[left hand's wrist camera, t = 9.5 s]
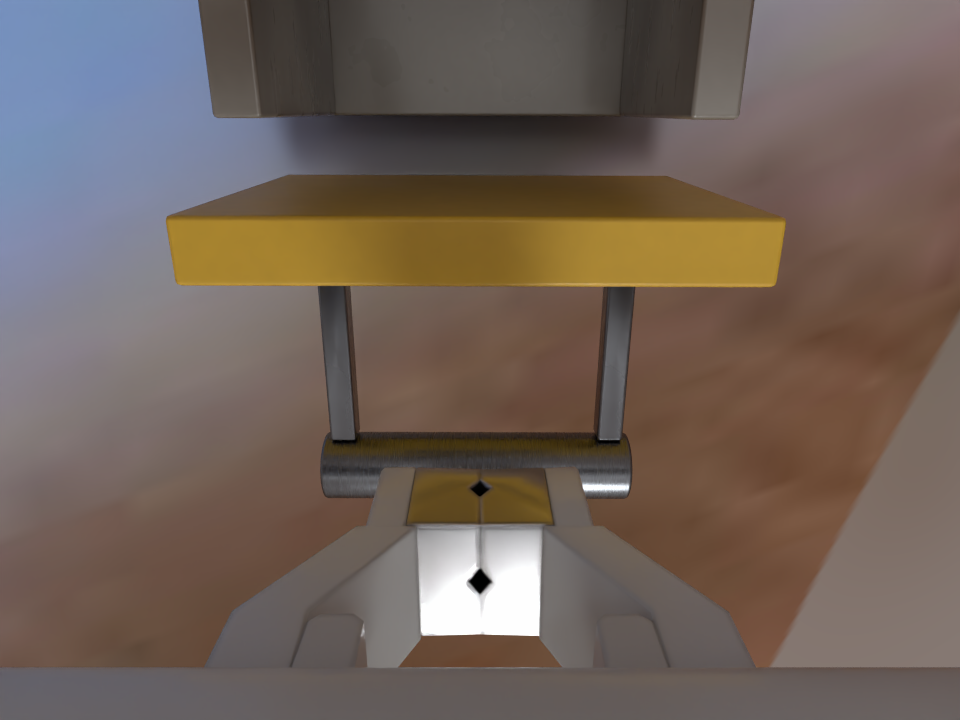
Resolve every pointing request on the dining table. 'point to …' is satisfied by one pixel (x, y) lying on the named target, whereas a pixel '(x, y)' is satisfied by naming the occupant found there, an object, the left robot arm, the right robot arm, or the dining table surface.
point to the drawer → (476, 188)
